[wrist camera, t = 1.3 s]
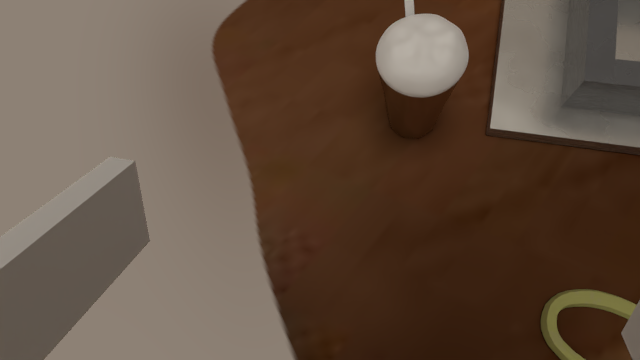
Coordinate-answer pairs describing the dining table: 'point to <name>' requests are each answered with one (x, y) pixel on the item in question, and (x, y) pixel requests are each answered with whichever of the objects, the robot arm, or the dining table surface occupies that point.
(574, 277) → the dining table surface
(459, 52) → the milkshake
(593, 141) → the holder
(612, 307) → the key
